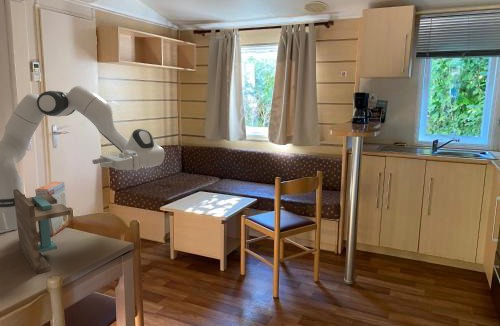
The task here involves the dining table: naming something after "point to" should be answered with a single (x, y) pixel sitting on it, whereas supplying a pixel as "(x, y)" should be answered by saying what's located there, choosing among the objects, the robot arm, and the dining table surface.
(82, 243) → the dining table surface
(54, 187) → the cracker box
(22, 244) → the wall shelf
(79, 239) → the dining table surface
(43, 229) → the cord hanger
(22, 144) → the robot arm
